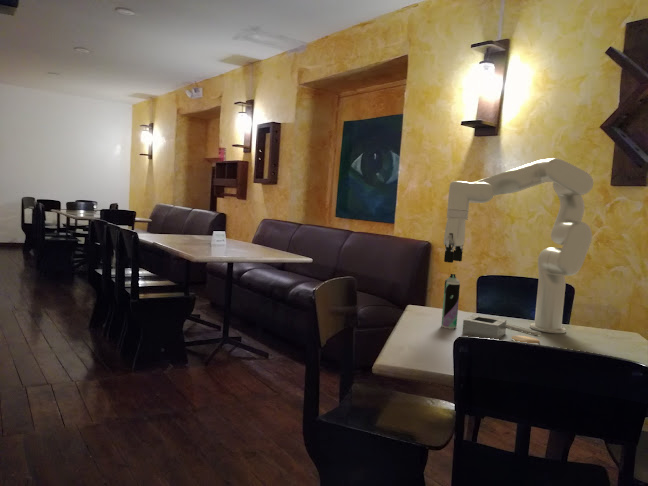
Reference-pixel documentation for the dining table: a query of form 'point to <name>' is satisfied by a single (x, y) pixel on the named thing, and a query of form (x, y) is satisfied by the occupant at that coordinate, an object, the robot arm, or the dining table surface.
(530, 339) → the coaster
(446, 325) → the spray can
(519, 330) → the adjustable wrench
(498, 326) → the block
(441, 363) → the dining table surface
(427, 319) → the dining table surface
